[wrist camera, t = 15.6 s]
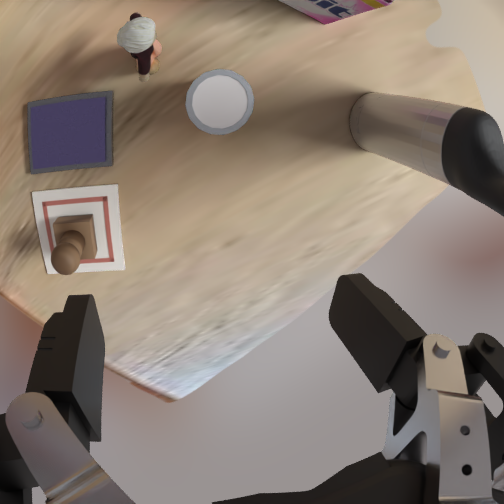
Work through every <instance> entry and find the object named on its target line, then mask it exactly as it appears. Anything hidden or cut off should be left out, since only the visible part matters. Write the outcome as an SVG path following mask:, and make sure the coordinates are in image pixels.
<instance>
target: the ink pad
mask: <svg viewBox="0 0 504 504" xmlns="http://www.w3.org/2000/svg"><path fill="white" fill-rule="evenodd" d="M113 97H114V91H103V92H93V93H84V94H76V95H69V96H62V97H56V98H49V99H44V100H38V101H33V102H28V144H29V159H30V170H31V174H38V173H46V172H54V171H63V170H72V169H82V168H93V167H106V166H112V165H113Z"/></svg>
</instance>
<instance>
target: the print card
mask: <svg viewBox="0 0 504 504" xmlns="http://www.w3.org/2000/svg"><path fill="white" fill-rule="evenodd" d="M32 197H33V204H34V211H35V217H36V223H37V228H38V233H39V238H40V243H41V248H42V252H43V257H44V261H45V265H46V269H47V273H48V274H56V273H58V272H57V271H56V270H55V269H54V268H53V266H52V263H51V253H52V251H53V249H54V248H55V247H56V241H55V236H54V230H53V223H54V222H55V220H56V219H57V217H60V216H72V215H85V214H93V219H94V227H95V235H96V242H97V254H96V257H95V259H83V260H80V265H79V267H78V269H77V270H76V271H75V272H94V271H112V270H125V269H126V268H125V260H124V252H123V243H122V233H121V222H120V210H119V195H118V184H108V185H94V186H82V187H71V188H61V189H52V190H43V191H34V192H32ZM75 272H74V273H75Z"/></svg>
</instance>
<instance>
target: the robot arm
mask: <svg viewBox="0 0 504 504" xmlns="http://www.w3.org/2000/svg"><path fill="white" fill-rule="evenodd" d="M350 129H351V133H352V136H353V138H354V140H355V142H356V143H357V144H358V145H359V146H360V147H361V148H363V149H364V150H367V151H369V152H372V153H375V154H377V155H380V156H382V157H385V158H388V159H390V160H393V161H395V162H398V163H400V164H403V165H405V166H408V167H410V168H412V169H415V170H417V171H420V172H422V173H424V174H427V175H429V176H431V177H433V178H436V179H438V180H440V181H442V182H445V183H447V184H449V185H451V186H453V187H455V188H457V189H459V190H461V191H463V192H464V193H466V194H467V195H469V196H470V197H472V198H474V199H476V200H478V201H479V202H481V203H483V204H485V205H486V206H488V207H490V208H491V209H493V210H494V211H496V212H498V213H499V214H501V215H502V216H504V144H503V139H502V135H501V131H500V129H499V126H498V125H497V123H496V121H495V120H494V119H493V117H491V116H490V115H489V114H487V113H486V112H484V111H481V110H477V109H473V108H468V107H464V106H459V105H455V104H450V103H444V102H439V101H433V100H427V99H421V98H415V97H408V96H400V95H393V94H384V93H368V94H365V95H363V96H362V97H360V98H359V99H358V100H357V102H356V103H355V104H354V106H353V109H352V111H351V116H350ZM329 321H330V324H331V326H332V328H333V330H334V331H335V332H336V334H337V335H338V337H339V338H340V339H341V341H342V342H343V344H344V345H345V347H346V348H347V349H348V351H349V352H350V354H351V355H352V356H353V358H354V359H355V361H356V362H357V363H358V365H359V366H360V368H361V369H362V371H363V372H364V373H365V375H366V376H367V378H368V379H369V380H370V382H371V383H372V385H373V386H374V388H375V389H376V391H377V392H378V393H380V392H383V391H385V390H388V389H392V390H393V393H392V395H391V397H390V405H389V417H388V428H387V436H386V442H385V446H384V448H383V450H382V452H379V453H377V454H375V455H372V456H371V457H368V458H366V459H363V460H361V461H359V462H356V463H354V464H351V465H349V466H346V467H345V468H344V469H342V470H341V471H339V472H338V473H336V474H335V475H334V476H332V477H331V478H329V479H328V480H326V481H325V482H323V483H322V484H320V485H318V486H317V487H315V488H314V489H312V490H309V491H302V492H288V493H259V494H255V495H250V496H245V497H241V498H235V499H230V500H224V501H217V502H212V504H504V347H503V346H502V345H501V344H500V343H499V342H498V341H497V340H496V339H495V338H494V337H492V336H490V335H488V334H485V333H477V334H476V335H475V336H474V337H473V339H472V341H471V342H470V344H469V345H467V346H457V345H456V344H455V343H454V342H453V341H452V340H451V339H449V338H448V337H446V336H443V335H440V334H429V335H427V334H426V333H425V332H424V331H423V330H422V329H421V327H419V325H418V324H417V323H415V321H414V320H413V319H412V318H411V317H410V316H409V315H408V314H407V313H406V312H405V311H404V310H403V311H402V308H401V307H400V306H399V305H398V304H397V303H395V301H394V300H393V299H392V298H391V297H390V296H389V295H388V294H387V293H386V292H384V291H383V290H381V289H379V288H378V287H376V286H374V285H373V284H372V283H371V282H370V281H369V280H368V279H367V278H366V277H365V276H364V275H363V274H361V273H358V274H349V275H342V276H340V277H339V279H338V281H337V284H336V288H335V292H334V295H333V299H332V303H331V306H330V310H329ZM104 357H105V342H104V335H103V331H102V327H101V323H100V320H99V316H98V312H97V308H96V304H95V300H94V297H93V295H92V294H88V295H69V296H68V298H67V301H66V304H65V307H64V310H63V312H58V313H54V314H53V315H52V316H51V317H50V319H49V320H48V321H47V322H46V323H45V325H44V328H43V331H42V334H41V340H40V341H39V344H38V351H36V354H35V357H34V361H33V365H32V368H31V372H30V376H29V380H28V384H27V388H26V392H25V393H24V394H22V395H19V396H18V397H16V398H15V399H14V400H13V401H12V402H11V403H10V405H9V407H8V409H7V411H6V413H4V414H1V415H0V504H32V488H33V487H38V486H40V487H41V489H42V490H43V492H44V493H45V495H46V497H47V500H46V504H135V503H134V501H133V500H131V499H130V498H129V497H128V496H127V495H126V494H125V493H124V491H123V490H122V489H121V488H120V487H119V486H118V485H117V484H116V483H115V482H114V481H113V480H112V479H111V478H110V477H109V475H108V474H107V473H106V472H105V471H104V470H103V469H102V468H101V467H100V466H99V464H98V463H97V462H96V461H95V460H94V458H93V457H92V456H91V455H90V451H89V450H90V441H95V442H96V441H97V442H100V441H101V409H102V385H103V370H104ZM486 380H487V382H488V383H489V384H490V385H491V387H492V388H493V389H494V390H495V392H496V393H497V394H498V395H499V397H500V398H501V399H502V401H503V411H502V412H501V414H500V415H499V416H498V417H497V418H495V417H494V416H493V415H492V413H491V412H490V411H489V409H488V408H487V407H486V405H485V404H484V403H483V401H482V399H481V397H479V396H478V395H477V394H476V393H477V391H478V390H479V389H480V387H481V386H482V385H483V383H484V382H485V381H486ZM491 479H492V481H491Z"/></svg>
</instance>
